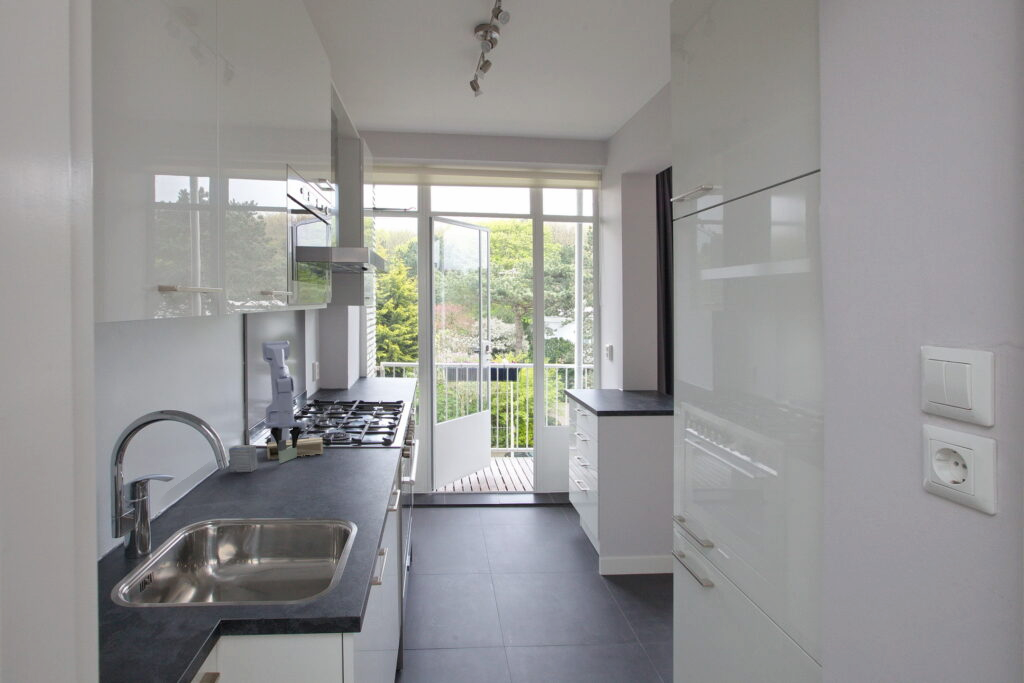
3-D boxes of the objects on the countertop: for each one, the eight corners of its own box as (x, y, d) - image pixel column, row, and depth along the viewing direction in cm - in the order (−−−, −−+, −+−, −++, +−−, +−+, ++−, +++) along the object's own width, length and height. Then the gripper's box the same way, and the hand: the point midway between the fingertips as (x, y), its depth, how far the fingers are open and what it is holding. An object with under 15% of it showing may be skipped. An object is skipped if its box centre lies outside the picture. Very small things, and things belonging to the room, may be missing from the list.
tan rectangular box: (268, 455, 240) (268, 442, 240) (322, 449, 246) (322, 437, 246) (267, 459, 232) (266, 446, 232) (323, 454, 238) (322, 441, 238)
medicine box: (258, 469, 220) (256, 445, 219) (251, 472, 215) (250, 448, 215) (236, 469, 220) (235, 445, 220) (230, 472, 216) (228, 448, 215)
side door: (278, 463, 225) (277, 441, 225) (295, 456, 235) (294, 435, 234) (281, 463, 225) (280, 441, 225) (298, 456, 235) (297, 435, 234)
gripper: (260, 413, 222) (263, 450, 223) (300, 412, 222) (302, 450, 222) (269, 409, 229) (271, 446, 230) (307, 409, 229) (309, 445, 230)
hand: (287, 447), depth 227 cm, fingers open, 5 cm apart
